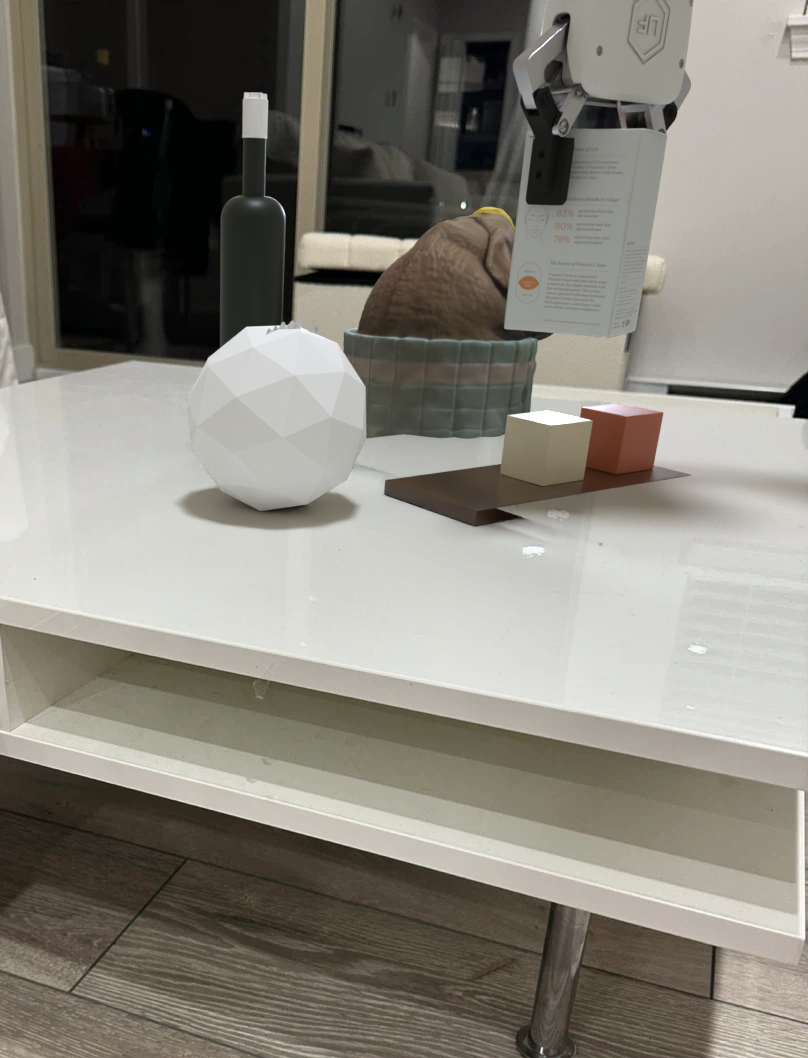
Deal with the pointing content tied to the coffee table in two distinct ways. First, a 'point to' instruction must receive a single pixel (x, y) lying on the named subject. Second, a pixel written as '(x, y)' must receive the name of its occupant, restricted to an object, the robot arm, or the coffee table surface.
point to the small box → (588, 238)
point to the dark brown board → (502, 490)
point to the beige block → (545, 447)
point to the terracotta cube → (622, 438)
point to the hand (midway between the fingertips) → (587, 205)
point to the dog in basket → (445, 336)
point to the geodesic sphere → (277, 416)
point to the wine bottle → (252, 237)
